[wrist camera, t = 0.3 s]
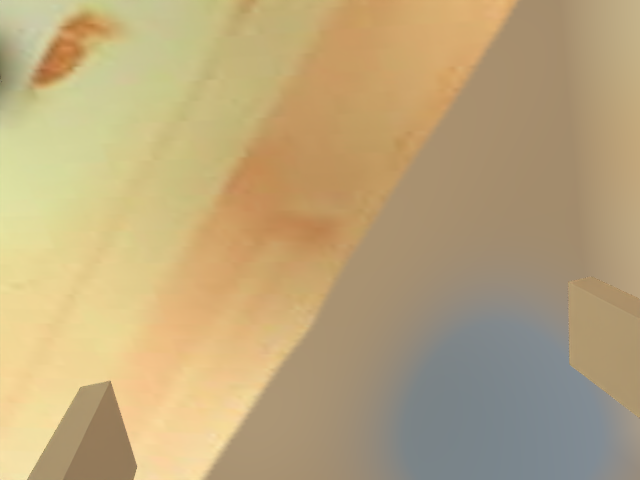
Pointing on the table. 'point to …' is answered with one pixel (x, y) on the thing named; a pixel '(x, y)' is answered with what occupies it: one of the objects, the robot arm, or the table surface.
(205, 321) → the table surface
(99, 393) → the robot arm
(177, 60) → the table surface
